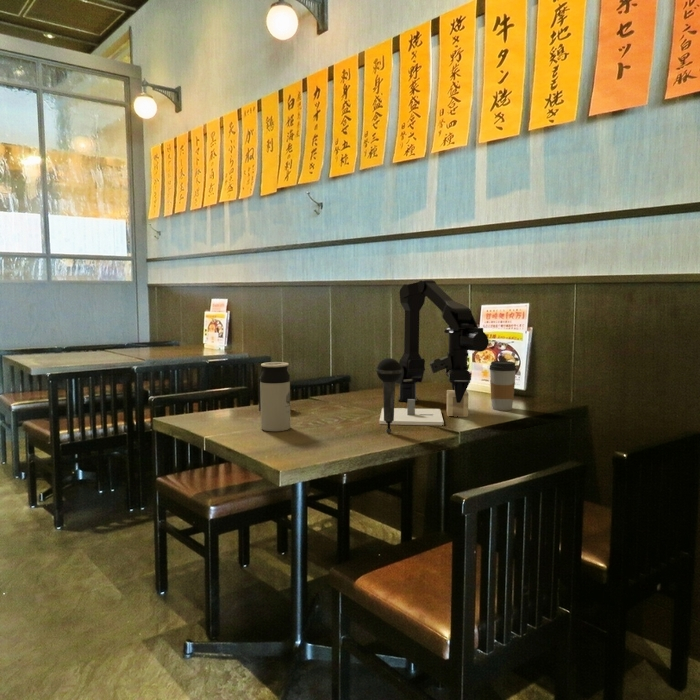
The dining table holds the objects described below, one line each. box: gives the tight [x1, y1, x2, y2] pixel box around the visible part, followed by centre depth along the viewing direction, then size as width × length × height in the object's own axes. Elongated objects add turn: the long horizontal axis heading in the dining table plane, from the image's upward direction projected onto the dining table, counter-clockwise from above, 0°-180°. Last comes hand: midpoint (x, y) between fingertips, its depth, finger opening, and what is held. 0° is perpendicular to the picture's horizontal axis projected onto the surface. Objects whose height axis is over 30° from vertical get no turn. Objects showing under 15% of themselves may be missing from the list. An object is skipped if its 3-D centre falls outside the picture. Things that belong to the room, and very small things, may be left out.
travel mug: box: [259, 361, 291, 433], centre depth 156 cm, size 8×8×18 cm
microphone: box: [375, 357, 402, 434], centre depth 151 cm, size 7×7×20 cm
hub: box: [378, 399, 445, 426], centre depth 170 cm, size 18×18×6 cm
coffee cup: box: [489, 360, 517, 412], centre depth 182 cm, size 8×8×15 cm
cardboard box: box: [445, 389, 469, 418], centre depth 174 cm, size 6×6×7 cm
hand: (457, 399), depth 174 cm, fingers open, 9 cm apart
